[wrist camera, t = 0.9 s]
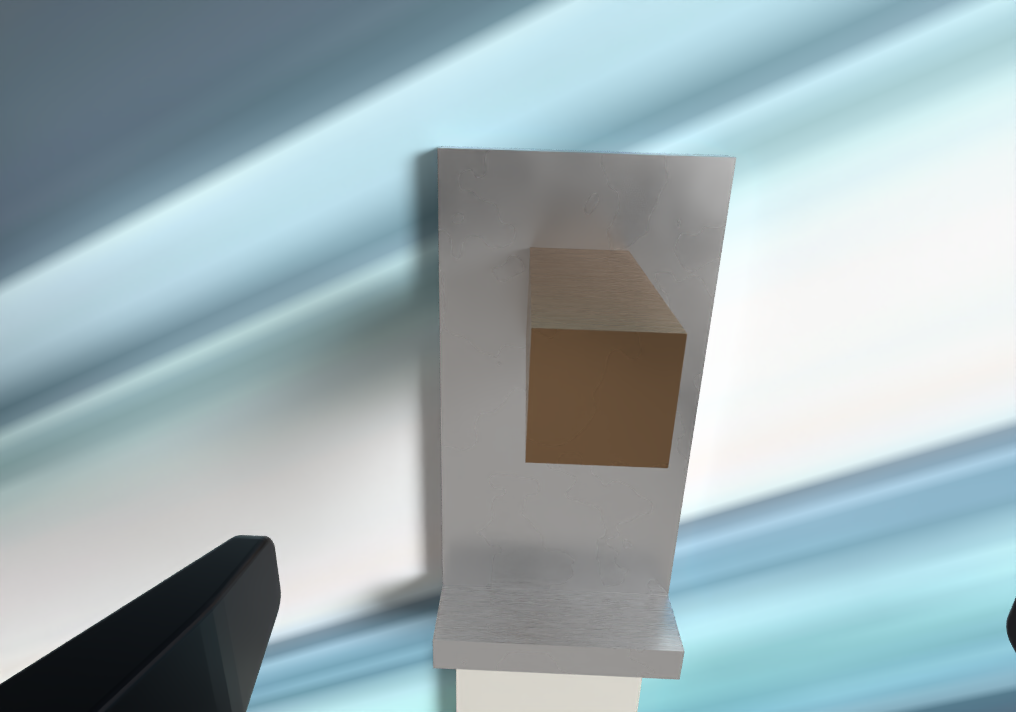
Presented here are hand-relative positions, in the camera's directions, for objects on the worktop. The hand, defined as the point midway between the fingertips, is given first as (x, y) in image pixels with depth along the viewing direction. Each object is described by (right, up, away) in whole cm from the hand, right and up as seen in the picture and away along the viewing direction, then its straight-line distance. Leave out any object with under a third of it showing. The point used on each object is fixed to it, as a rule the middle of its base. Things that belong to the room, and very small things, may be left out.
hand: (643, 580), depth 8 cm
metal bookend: (0, +1, +13) cm, 13 cm away
